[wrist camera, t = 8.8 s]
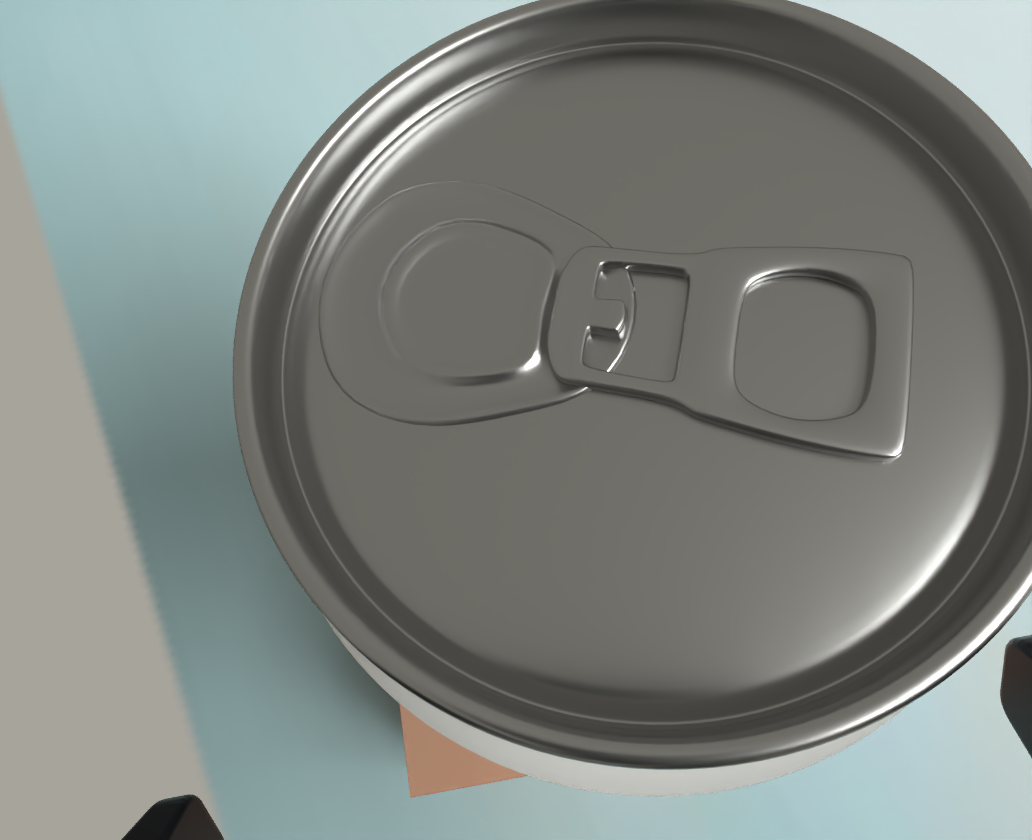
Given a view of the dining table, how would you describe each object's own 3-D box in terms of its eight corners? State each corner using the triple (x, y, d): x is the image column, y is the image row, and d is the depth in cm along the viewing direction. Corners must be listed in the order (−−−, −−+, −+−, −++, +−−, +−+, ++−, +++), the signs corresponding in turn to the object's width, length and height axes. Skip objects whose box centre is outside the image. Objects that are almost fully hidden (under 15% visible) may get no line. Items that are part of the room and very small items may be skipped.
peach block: (769, 709, 18) (813, 722, 15) (448, 769, 19) (410, 797, 15) (685, 404, 21) (704, 350, 17) (406, 462, 22) (365, 421, 18)
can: (498, 395, 18) (316, -80, 6) (773, 437, 17) (1156, -40, 5) (437, 671, 16) (21, 711, 4) (742, 739, 15) (1233, 1022, 3)
